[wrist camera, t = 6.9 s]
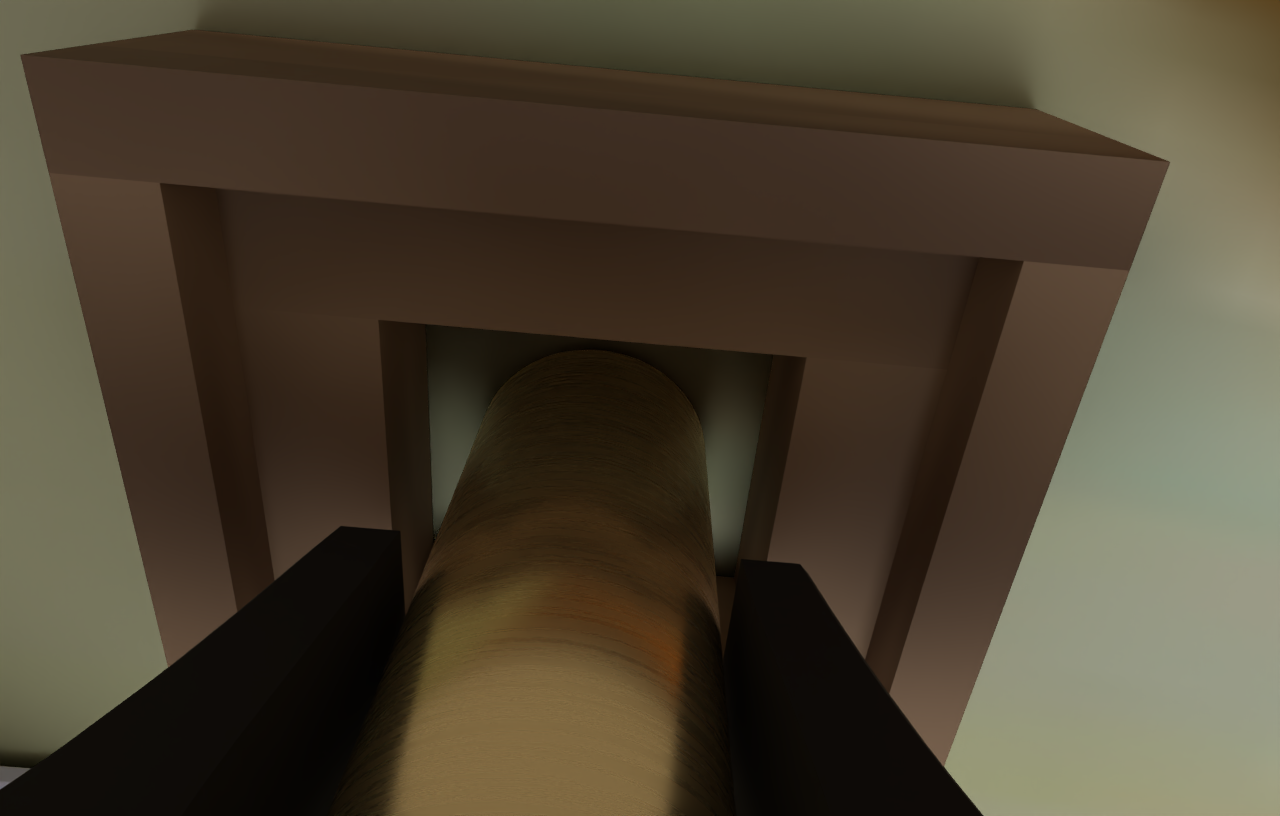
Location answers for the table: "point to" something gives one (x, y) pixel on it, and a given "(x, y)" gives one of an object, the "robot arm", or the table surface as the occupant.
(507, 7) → the table surface
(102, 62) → the box
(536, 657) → the peg
